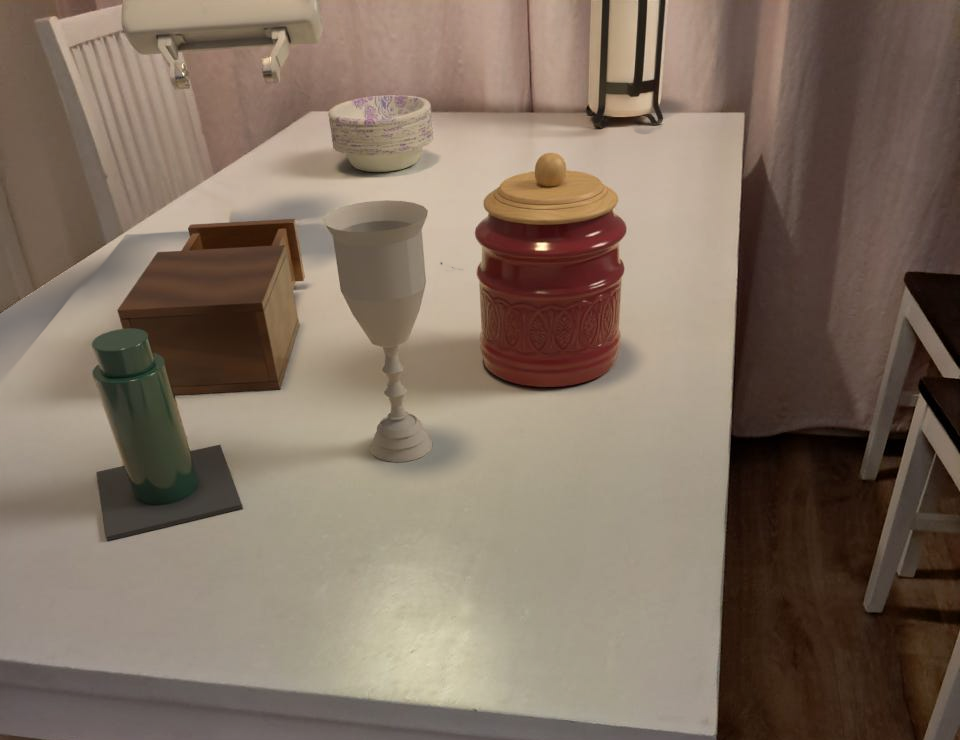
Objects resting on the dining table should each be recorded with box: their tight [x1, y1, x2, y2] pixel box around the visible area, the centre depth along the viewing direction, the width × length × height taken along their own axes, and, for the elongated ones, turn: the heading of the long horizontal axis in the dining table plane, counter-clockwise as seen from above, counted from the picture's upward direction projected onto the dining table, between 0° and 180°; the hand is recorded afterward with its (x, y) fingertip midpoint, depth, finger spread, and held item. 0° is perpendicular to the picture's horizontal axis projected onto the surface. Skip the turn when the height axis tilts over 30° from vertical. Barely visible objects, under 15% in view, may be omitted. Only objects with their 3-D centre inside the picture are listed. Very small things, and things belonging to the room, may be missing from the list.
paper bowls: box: [327, 94, 434, 173], centre depth 138 cm, size 15×15×8 cm
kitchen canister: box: [474, 152, 628, 388], centre depth 81 cm, size 13×13×18 cm
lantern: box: [585, 0, 670, 129], centre depth 144 cm, size 17×16×30 cm
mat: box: [95, 444, 243, 542], centre depth 72 cm, size 10×10×1 cm
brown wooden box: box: [116, 245, 300, 396], centre depth 87 cm, size 15×13×8 cm
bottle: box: [91, 328, 199, 505], centre depth 68 cm, size 5×5×12 cm
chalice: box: [322, 200, 433, 463], centre depth 70 cm, size 7×7×18 cm
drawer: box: [180, 218, 306, 290], centre depth 98 cm, size 17×11×6 cm, turn 1°
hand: (225, 82), depth 94 cm, fingers open, 8 cm apart
